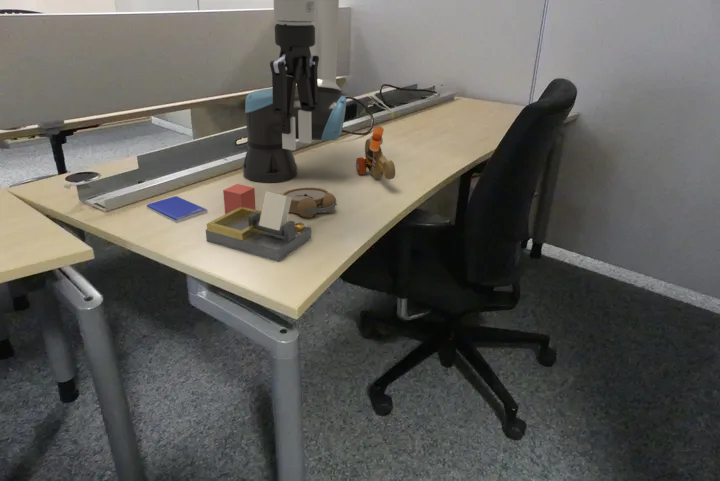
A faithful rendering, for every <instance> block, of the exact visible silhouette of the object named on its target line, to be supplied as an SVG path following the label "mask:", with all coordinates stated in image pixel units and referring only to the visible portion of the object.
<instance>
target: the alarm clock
mask: <svg viewBox="0 0 720 481" xmlns="http://www.w3.org/2000/svg"><path fill="white" fill-rule="evenodd" d="M281 195H284V196H288V197H292V200H291V204H290V209H289V213H292V214H298V215H300V216H301V217H303V218H307V219H309V218H311V217H314V216H315V215H316V214H319V213H327V214H328V213H332V212H333V211H334V210H335V209H336V206H337V205H338V203H337V200H336V197H335V196H334V194H333V193H330V192H329V191H328V190H326V189H323V188H319V187H299V188H298V187H297V188H292V189H289V190H287V191H284V192H283V194H281Z"/></svg>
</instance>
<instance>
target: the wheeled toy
mask: <svg viewBox="0 0 720 481" xmlns="http://www.w3.org/2000/svg"><path fill="white" fill-rule="evenodd" d="M384 130H385V129H384V127H382V126H379V125H377V126H375V127H374V128H373V131H372V135H371V136H370V137H369V138H367V139H366V140H365V143H364V144H365V145H364V157H357V158H356V160H355V168H356V169H355V170H356V173H357V174H358V175H364V174H366V172H367V169H368V171H369V173H370V174H371V175H372V177H373V179H374V180H381V179H382V177H384V178H385V179H386V180H393V179H394V178H395V176H396V166H395V163H394V161H393V160H388V159H387V158H386V156H385V155H384V154H383V152H382V151H383V150H382V147H381V145H382V144H383V140H384V139H383V134H384ZM382 172H383V173H382Z"/></svg>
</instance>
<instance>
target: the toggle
mask: <svg viewBox="0 0 720 481" xmlns="http://www.w3.org/2000/svg"><path fill="white" fill-rule="evenodd" d="M291 200H292V197H288V196H284V195H282V194H279V193H275V192H271V191H265V195H264V199H263V203H262V209H261V211H262V213H261V217H260V221H258V223H257V229H258V230H261V231H265V232H269V233H272V234H276V235H280V236H284V224H286V223H287V222H288V218H289V213H290V212H289V209H290V204H291Z"/></svg>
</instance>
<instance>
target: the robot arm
mask: <svg viewBox="0 0 720 481" xmlns="http://www.w3.org/2000/svg"><path fill="white" fill-rule="evenodd" d="M339 3H340V0H273V20H274V21H275V22H277V23H276V24H275V25H274V44H275V45H276V46H278V47H280V48H279V50H280V52H279V56H278V59H277V60H271V61H270V62H269V68H270V70H271V75H272V76H271V77H272V78H271V79H272V80H271V81H272V82H271V83H272V87H271V88H262V89H259V90H255V91H252V92H250V93H247V95H246V96H245V103H244V104H245V107H244V108H245V110H244V114H245V125H246V136H247V137H246V139H247V150H246V153H245V158H244V161H243V165H242V175H243V177H244V178H245V179H247V180H248V181H249V180H250V181H253V182H260V183H278V182H279V183H280V182H285V181H289V180H291V179H294V178H296V176H297V175H298V165H297V162H296V160H295V159H296V158H295V157H294V153H293V151H296V150H297V146H296V145H297V144H296V142H297V140H298V143H304V144H312V141H322V142H324V141H336V140H338V139H339V138H340V137H341V135H342V131H343V127H344V121H345V115H346V110H347V109H346V107H347V98H346V97H345V96H343V95H342V89H341V87H339V85H338V84H337V67H338V66H337V63H338V59H337V58H338V36H339V35H338V31H339V6H340V5H339ZM296 88H297V94H296Z"/></svg>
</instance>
